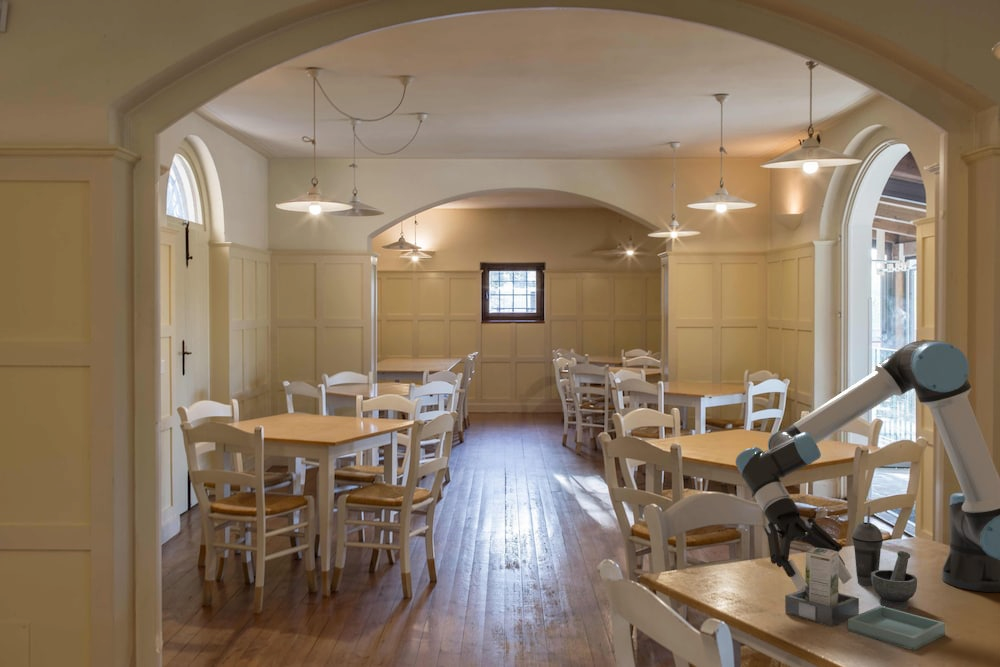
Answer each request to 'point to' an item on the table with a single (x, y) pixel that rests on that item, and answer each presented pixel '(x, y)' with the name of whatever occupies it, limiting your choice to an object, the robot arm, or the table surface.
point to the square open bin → (822, 608)
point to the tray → (896, 627)
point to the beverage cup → (867, 550)
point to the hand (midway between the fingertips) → (825, 584)
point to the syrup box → (822, 576)
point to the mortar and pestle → (895, 584)
